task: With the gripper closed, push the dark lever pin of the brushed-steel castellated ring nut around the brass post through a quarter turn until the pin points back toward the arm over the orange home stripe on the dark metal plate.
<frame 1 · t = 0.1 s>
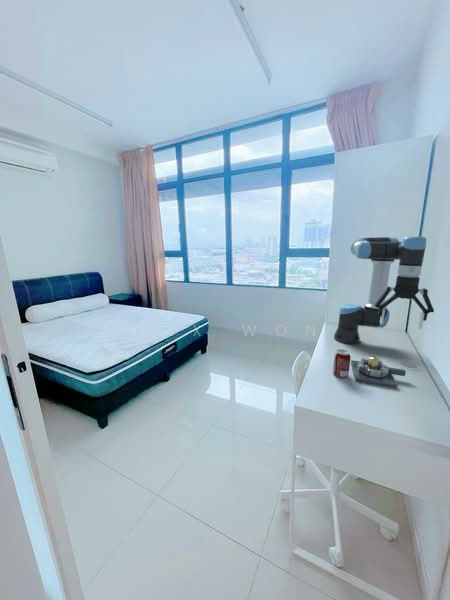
hand: (399, 325, 105), 28 cm above the table, fingers open, 13 cm apart
soda can: (340, 375, 118), on the table
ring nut: (381, 368, 116), point 4 cm above the table, hinge at 0.0°
base plate: (371, 375, 118), on the table
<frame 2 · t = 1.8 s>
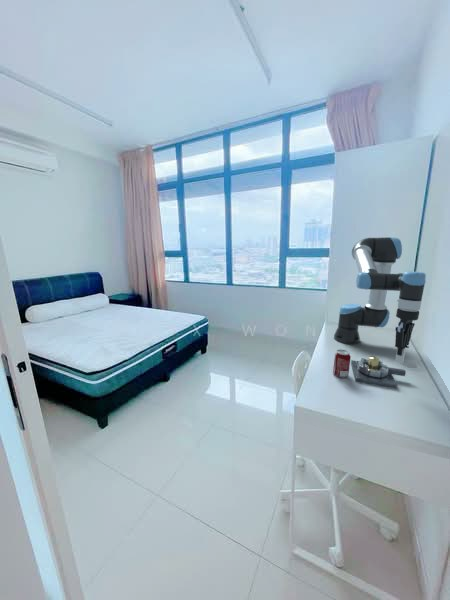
hand: (399, 361, 107), 12 cm above the table, fingers closed
nothing on the table moved.
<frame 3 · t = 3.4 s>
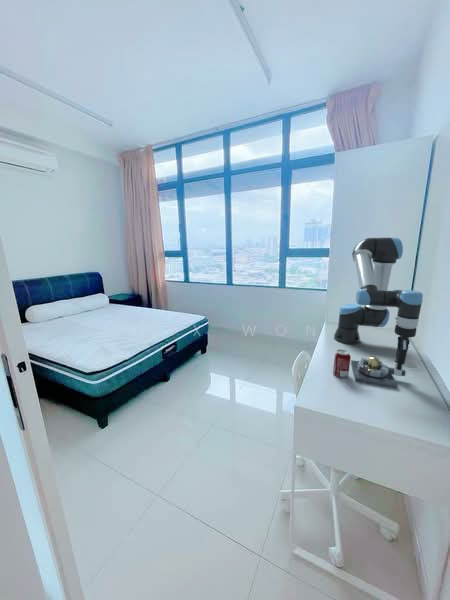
hand: (397, 374, 112), 3 cm above the table, fingers closed
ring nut: (381, 368, 116), point 4 cm above the table, hinge at 0.0°, touching gripper
everything else where it was.
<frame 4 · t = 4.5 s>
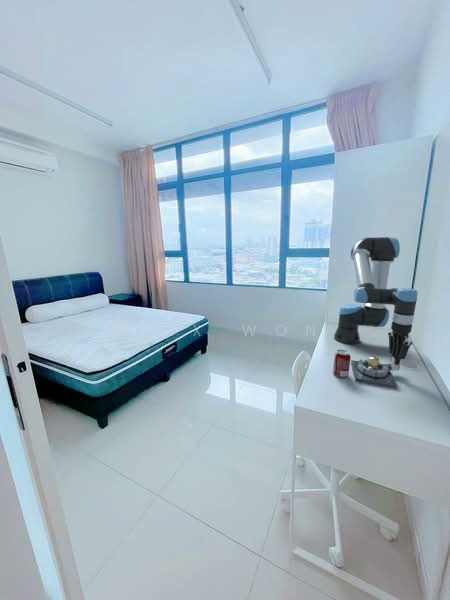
hand: (394, 369, 116), 3 cm above the table, fingers closed
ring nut: (379, 366, 117), point 4 cm above the table, hinge at 25.4°, touching gripper
everything else where it was.
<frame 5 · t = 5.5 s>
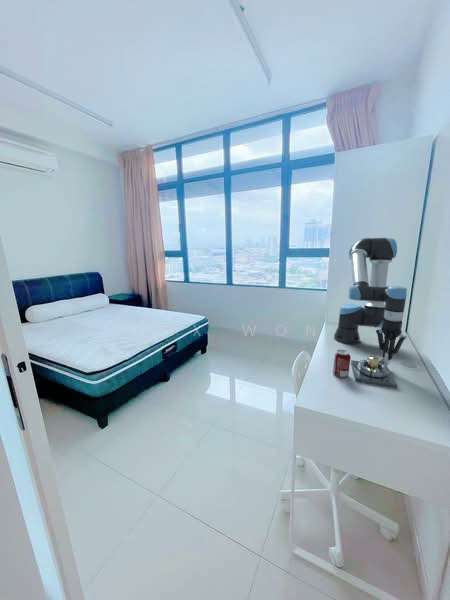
hand: (386, 364, 121), 3 cm above the table, fingers closed
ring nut: (376, 364, 119), point 4 cm above the table, hinge at 53.1°, touching gripper
everything else where it was.
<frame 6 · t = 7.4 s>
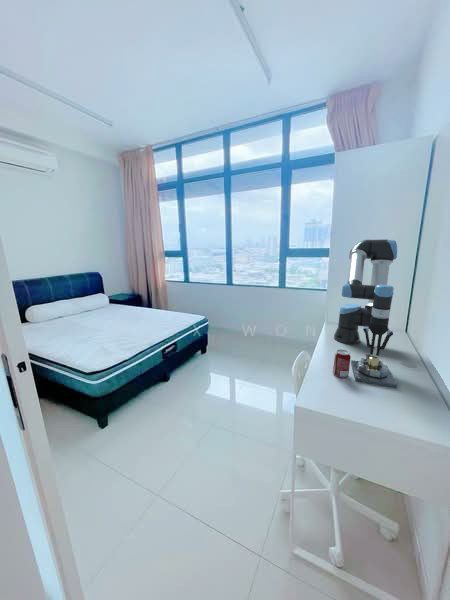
hand: (373, 360, 125), 3 cm above the table, fingers closed
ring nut: (371, 363, 120), point 4 cm above the table, hinge at 89.5°
everything else where it was.
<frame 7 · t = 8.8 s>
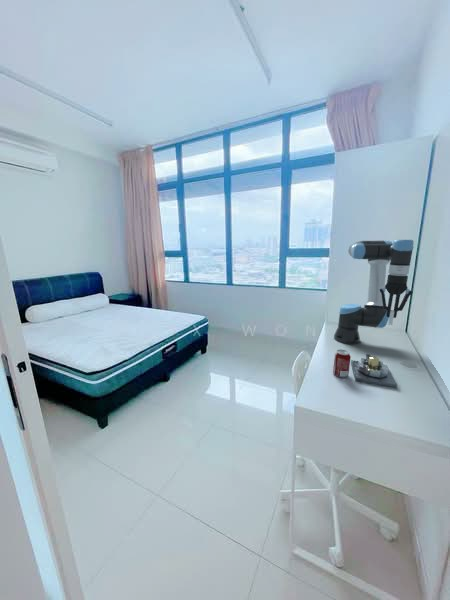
hand: (390, 323, 117), 24 cm above the table, fingers closed
nothing on the table moved.
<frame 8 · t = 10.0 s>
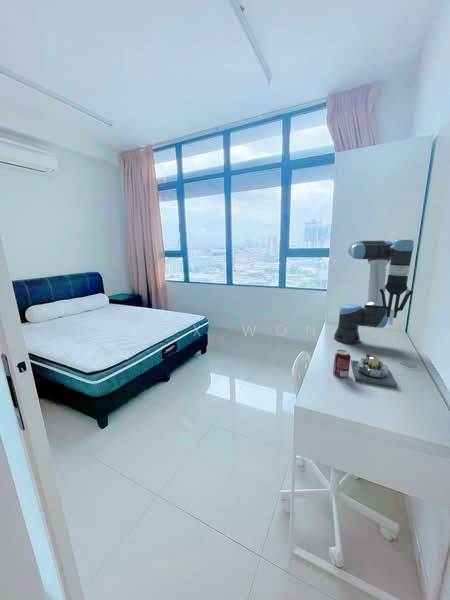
hand: (390, 323, 117), 24 cm above the table, fingers closed
nothing on the table moved.
at the end: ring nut at +90° (first picture: +0°) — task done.
